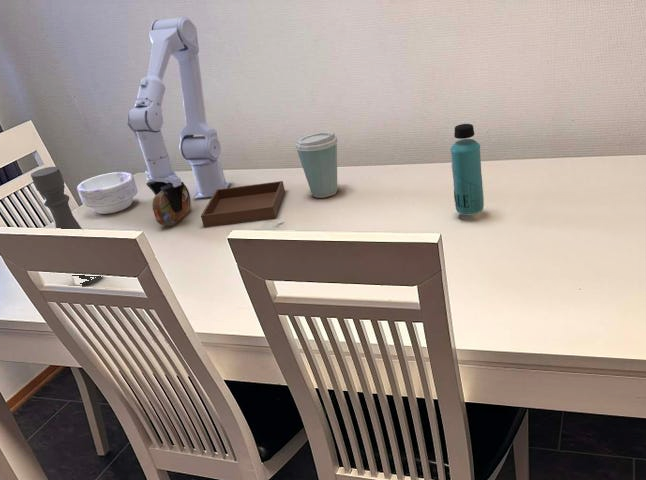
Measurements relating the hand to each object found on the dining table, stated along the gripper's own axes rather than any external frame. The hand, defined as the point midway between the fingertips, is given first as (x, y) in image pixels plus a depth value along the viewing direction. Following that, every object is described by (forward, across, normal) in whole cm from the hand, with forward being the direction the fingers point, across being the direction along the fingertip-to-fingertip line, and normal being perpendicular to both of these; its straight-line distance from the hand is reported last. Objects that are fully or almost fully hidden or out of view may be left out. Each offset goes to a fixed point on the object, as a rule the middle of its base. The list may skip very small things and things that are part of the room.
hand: (172, 208), depth 181 cm
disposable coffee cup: (+3, +24, +31) cm, 39 cm away
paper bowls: (+3, -26, -5) cm, 27 cm away
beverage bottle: (+3, +67, +38) cm, 77 cm away
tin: (+3, 0, 0) cm, 3 cm away
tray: (+3, +12, +14) cm, 19 cm away
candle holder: (+3, +13, -30) cm, 33 cm away
